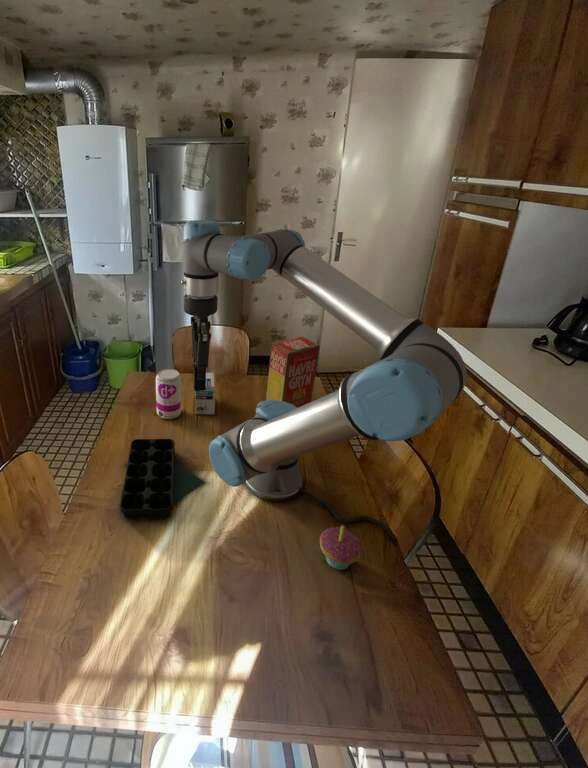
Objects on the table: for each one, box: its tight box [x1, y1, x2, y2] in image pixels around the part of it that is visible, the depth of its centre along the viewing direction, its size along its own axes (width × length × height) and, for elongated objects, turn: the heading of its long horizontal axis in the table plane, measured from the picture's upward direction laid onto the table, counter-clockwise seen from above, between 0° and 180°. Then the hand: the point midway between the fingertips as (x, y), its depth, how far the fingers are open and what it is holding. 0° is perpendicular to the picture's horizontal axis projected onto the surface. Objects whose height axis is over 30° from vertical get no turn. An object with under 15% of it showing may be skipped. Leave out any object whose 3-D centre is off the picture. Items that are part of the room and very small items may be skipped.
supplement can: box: [155, 368, 182, 420], centre depth 143 cm, size 8×8×15 cm
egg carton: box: [119, 438, 176, 520], centre depth 115 cm, size 18×30×4 cm, turn 14°
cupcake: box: [319, 524, 363, 571], centre depth 91 cm, size 9×8×12 cm
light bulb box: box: [194, 372, 216, 415], centre depth 148 cm, size 11×7×11 cm, turn 179°
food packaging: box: [265, 336, 321, 408], centre depth 144 cm, size 13×9×25 cm
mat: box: [173, 461, 206, 504], centre depth 118 cm, size 20×11×1 cm, turn 44°
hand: (199, 389), depth 106 cm, fingers closed
